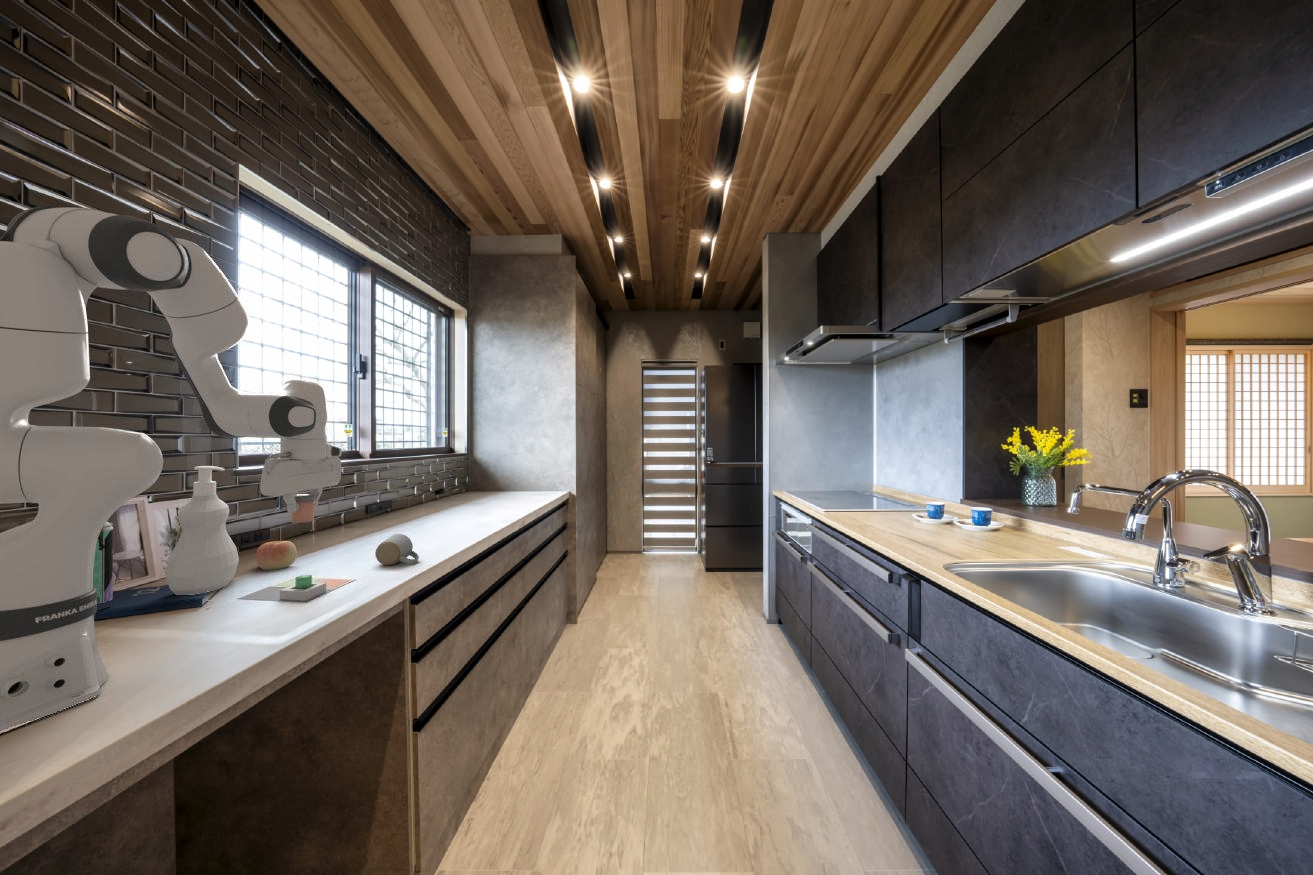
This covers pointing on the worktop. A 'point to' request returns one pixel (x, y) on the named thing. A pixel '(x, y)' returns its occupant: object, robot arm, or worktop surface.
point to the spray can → (104, 564)
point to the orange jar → (304, 508)
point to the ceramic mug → (396, 550)
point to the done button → (303, 582)
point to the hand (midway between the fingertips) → (303, 509)
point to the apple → (276, 555)
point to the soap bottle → (202, 542)
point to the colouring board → (297, 590)
